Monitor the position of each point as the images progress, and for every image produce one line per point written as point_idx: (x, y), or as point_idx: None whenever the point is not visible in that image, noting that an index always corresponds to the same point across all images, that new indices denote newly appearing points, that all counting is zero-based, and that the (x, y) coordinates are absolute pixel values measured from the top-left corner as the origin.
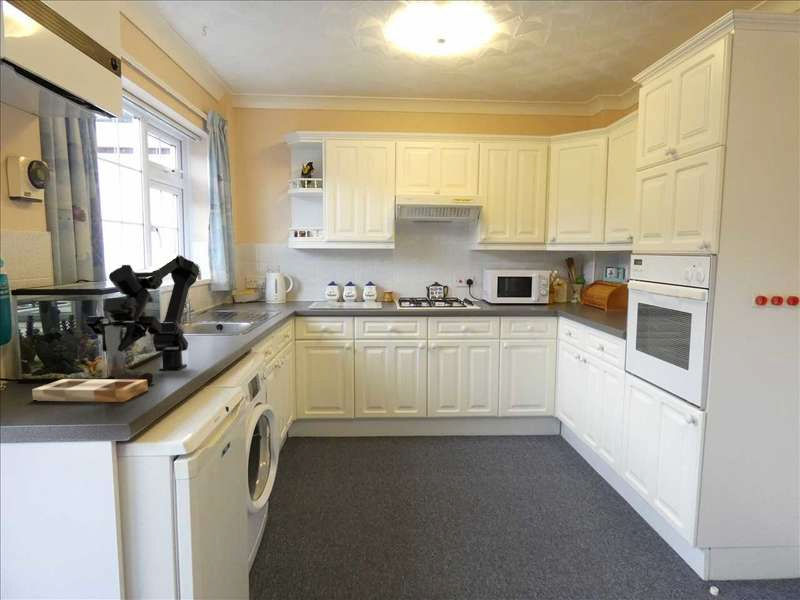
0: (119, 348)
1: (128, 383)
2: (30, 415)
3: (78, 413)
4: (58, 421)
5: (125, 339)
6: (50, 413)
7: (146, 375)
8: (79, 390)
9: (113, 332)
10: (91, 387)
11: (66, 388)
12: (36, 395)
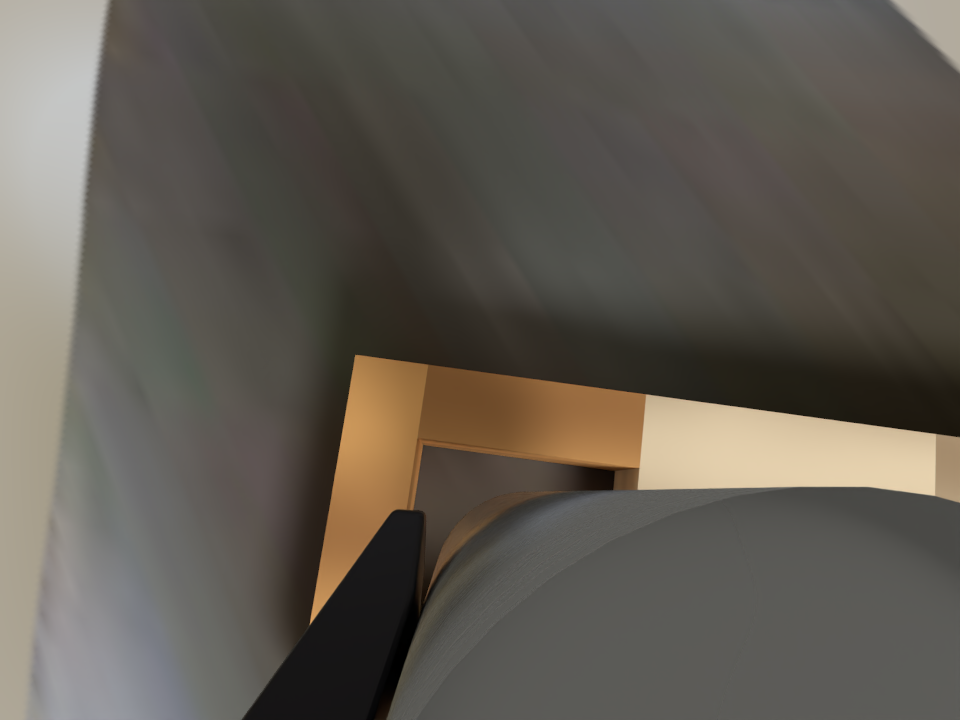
0: (410, 521)
1: None
2: (875, 141)
3: (563, 146)
4: (594, 13)
5: (274, 699)
6: (766, 166)
7: None
8: (784, 414)
9: (553, 521)
10: None
11: (953, 482)
12: None
